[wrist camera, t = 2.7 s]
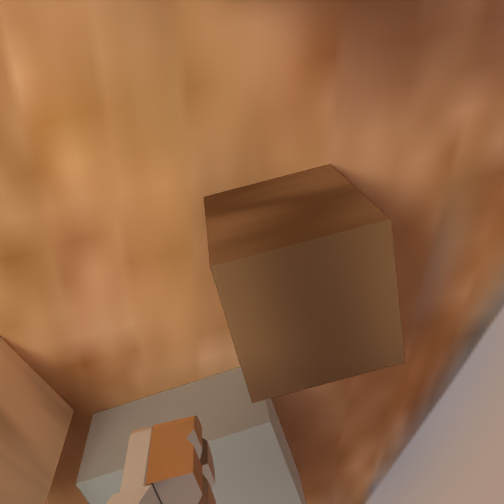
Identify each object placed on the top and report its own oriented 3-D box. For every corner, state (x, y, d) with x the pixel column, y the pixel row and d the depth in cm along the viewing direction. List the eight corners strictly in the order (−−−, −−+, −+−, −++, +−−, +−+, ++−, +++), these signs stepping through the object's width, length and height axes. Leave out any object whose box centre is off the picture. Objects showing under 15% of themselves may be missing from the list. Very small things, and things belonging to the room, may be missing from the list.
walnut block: (235, 303, 20) (252, 403, 14) (203, 196, 18) (209, 266, 12) (346, 274, 20) (405, 362, 15) (329, 163, 18) (391, 218, 12)
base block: (157, 513, 25) (152, 592, 21) (94, 409, 22) (75, 484, 18) (297, 468, 25) (316, 540, 21) (256, 357, 21) (270, 421, 18)
